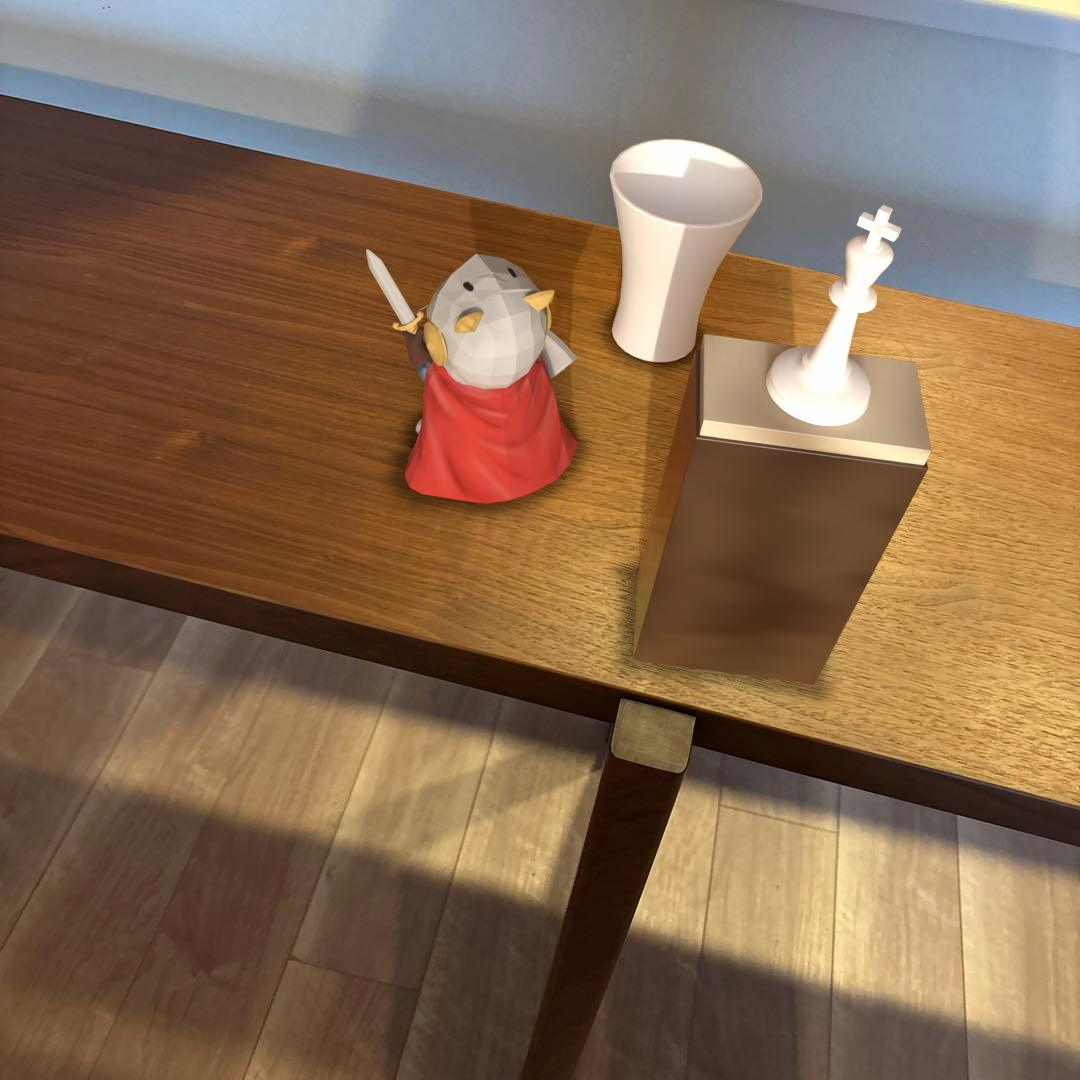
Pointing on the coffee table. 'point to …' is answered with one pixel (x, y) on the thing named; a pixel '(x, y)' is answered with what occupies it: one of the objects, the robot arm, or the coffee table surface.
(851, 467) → the rectangular box
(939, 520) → the coffee table surface
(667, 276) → the cup
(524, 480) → the figurine
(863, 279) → the chess piece
